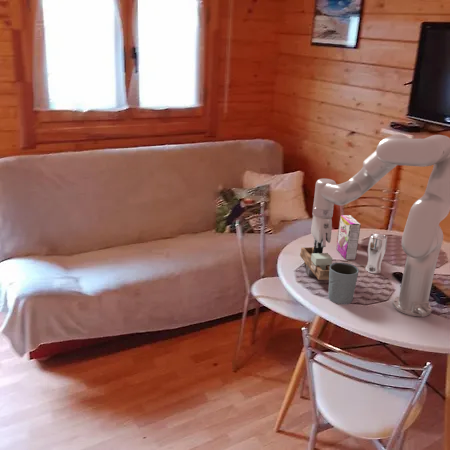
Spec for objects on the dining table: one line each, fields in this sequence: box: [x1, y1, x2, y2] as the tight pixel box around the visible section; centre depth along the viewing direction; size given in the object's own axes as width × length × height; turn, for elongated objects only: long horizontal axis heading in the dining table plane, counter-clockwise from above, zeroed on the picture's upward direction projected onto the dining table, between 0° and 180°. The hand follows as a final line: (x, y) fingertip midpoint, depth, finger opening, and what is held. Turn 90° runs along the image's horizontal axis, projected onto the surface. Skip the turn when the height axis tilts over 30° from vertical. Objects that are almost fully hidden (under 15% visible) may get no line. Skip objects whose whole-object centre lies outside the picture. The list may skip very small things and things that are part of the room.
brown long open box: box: [299, 246, 330, 281], centre depth 195 cm, size 22×7×7 cm, turn 10°
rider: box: [311, 252, 333, 270], centre depth 189 cm, size 5×6×5 cm
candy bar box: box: [336, 214, 362, 261], centre depth 212 cm, size 11×5×16 cm, turn 9°
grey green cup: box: [327, 262, 360, 305], centre depth 176 cm, size 10×10×12 cm
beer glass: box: [364, 232, 388, 274], centre depth 199 cm, size 7×7×15 cm
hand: (317, 256), depth 193 cm, fingers closed
